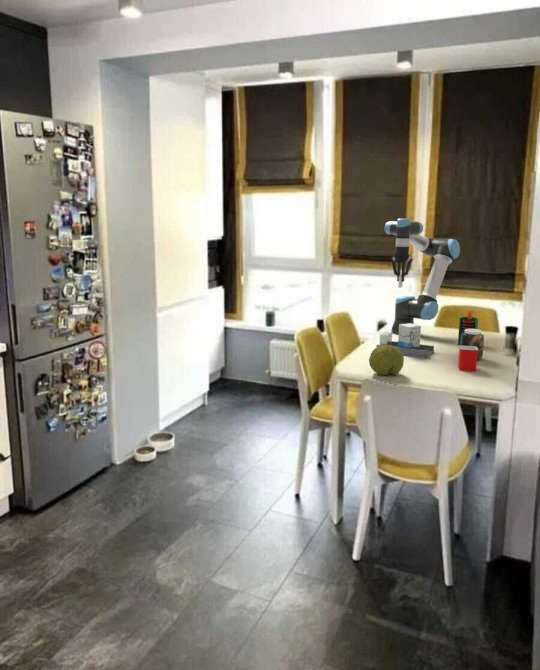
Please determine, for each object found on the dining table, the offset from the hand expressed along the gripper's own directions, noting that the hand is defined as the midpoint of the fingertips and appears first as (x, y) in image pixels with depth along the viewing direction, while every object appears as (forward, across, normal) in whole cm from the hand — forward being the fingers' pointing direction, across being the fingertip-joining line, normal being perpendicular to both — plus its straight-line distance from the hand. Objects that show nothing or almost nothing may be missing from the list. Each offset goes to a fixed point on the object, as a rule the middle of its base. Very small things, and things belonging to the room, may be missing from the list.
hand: (400, 287), depth 332 cm
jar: (+33, +45, -18) cm, 58 cm away
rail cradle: (+32, +11, -22) cm, 41 cm away
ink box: (+29, +13, -22) cm, 39 cm away
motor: (+33, +37, +13) cm, 51 cm away
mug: (+33, +47, -39) cm, 69 cm away
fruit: (+33, +16, -69) cm, 78 cm away
